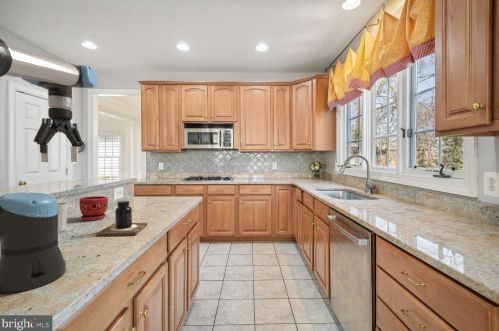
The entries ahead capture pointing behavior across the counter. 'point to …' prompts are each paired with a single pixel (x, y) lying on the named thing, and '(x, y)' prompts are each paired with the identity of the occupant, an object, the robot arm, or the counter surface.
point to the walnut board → (122, 230)
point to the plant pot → (93, 207)
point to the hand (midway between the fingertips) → (61, 162)
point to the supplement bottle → (123, 215)
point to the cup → (62, 215)
